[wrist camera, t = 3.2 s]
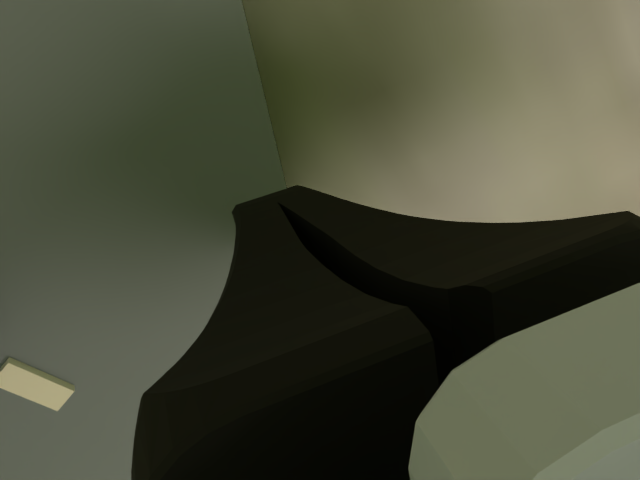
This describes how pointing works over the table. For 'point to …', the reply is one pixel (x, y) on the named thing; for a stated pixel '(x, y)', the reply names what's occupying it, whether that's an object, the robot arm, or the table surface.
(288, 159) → the table surface
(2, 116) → the dial plate
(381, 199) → the table surface
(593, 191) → the table surface
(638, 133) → the table surface
